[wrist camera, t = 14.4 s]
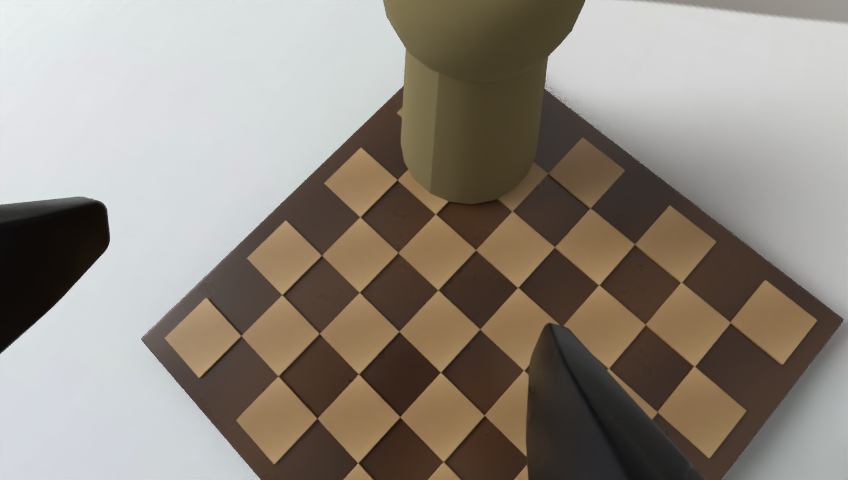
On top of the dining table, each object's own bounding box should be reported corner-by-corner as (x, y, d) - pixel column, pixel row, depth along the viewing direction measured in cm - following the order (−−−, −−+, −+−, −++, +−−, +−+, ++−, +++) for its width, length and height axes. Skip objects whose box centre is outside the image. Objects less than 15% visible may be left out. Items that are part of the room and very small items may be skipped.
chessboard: (823, 321, 19) (848, 319, 18) (499, 737, 16) (502, 767, 15) (463, 41, 23) (464, 25, 22) (155, 339, 20) (137, 338, 19)
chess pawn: (478, 54, 22) (507, -240, 11) (566, 148, 20) (698, -80, 10) (373, 129, 21) (294, -103, 10) (457, 232, 20) (466, 87, 9)
